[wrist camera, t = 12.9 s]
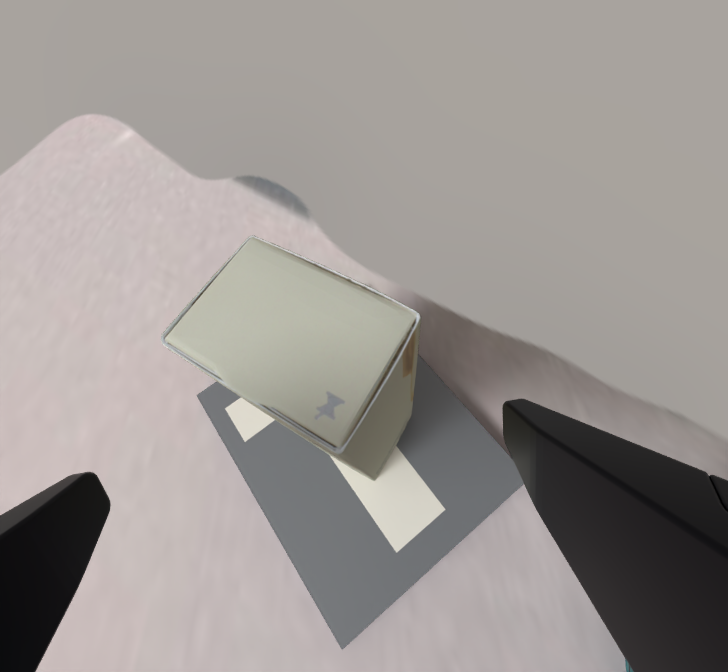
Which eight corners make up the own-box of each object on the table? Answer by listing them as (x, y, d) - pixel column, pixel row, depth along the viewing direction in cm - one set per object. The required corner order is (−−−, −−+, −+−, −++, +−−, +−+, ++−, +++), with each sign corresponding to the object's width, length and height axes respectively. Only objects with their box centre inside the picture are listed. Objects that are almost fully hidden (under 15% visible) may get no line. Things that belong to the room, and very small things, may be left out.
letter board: (524, 479, 20) (529, 478, 19) (344, 643, 18) (342, 650, 17) (357, 291, 25) (356, 285, 24) (202, 398, 23) (196, 395, 22)
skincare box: (413, 413, 21) (439, 315, 10) (374, 484, 20) (351, 467, 8) (319, 360, 23) (248, 224, 11) (277, 422, 21) (149, 338, 10)
